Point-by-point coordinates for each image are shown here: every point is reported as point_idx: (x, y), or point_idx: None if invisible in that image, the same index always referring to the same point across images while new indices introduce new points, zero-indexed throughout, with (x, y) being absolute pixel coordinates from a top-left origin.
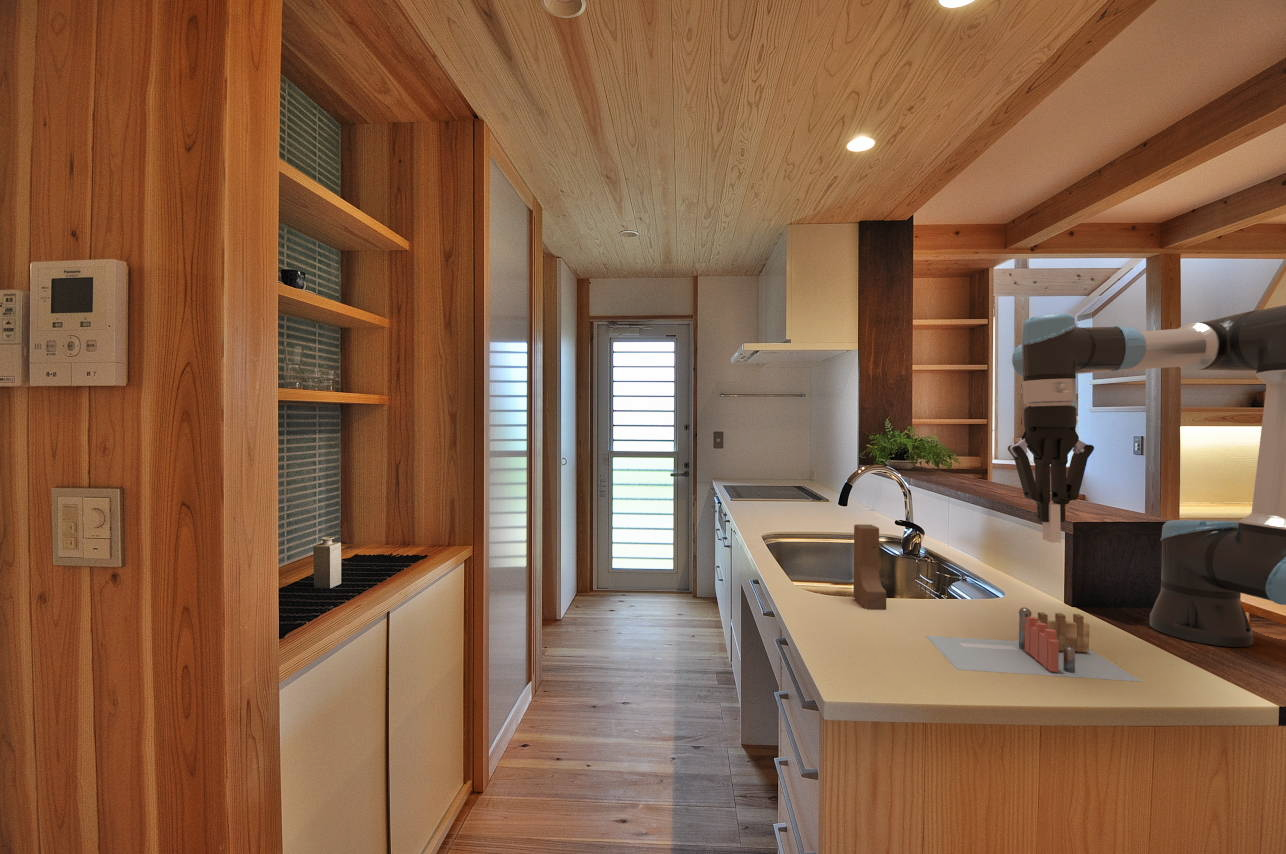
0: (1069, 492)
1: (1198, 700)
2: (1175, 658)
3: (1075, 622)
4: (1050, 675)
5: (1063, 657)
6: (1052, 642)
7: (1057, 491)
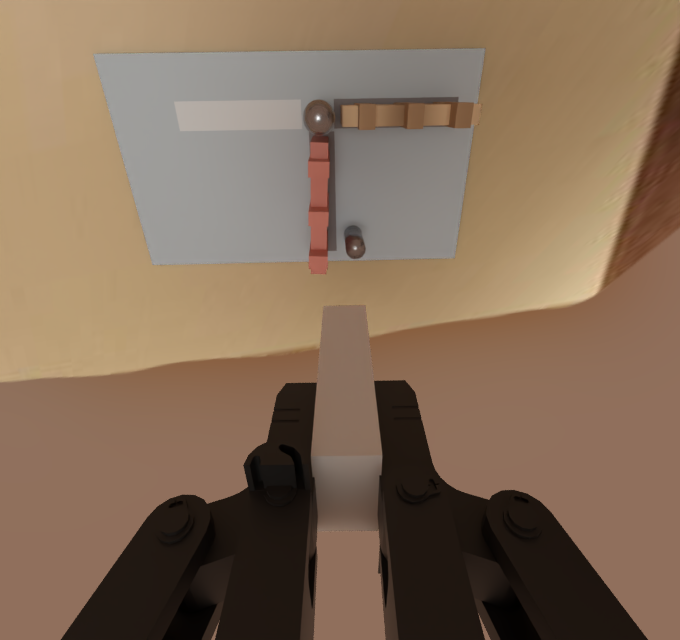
0: (510, 593)
1: (492, 300)
2: (649, 94)
3: (450, 115)
4: (308, 261)
5: (345, 238)
6: (314, 273)
7: (387, 625)
